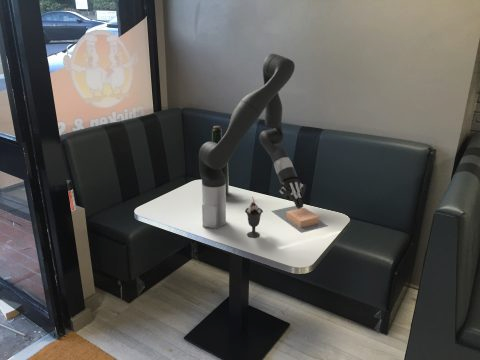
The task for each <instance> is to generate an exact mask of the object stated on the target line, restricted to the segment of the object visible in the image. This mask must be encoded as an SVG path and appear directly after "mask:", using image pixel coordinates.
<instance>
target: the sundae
mask: <svg viewBox="0 0 480 360" xmlns="http://www.w3.org/2000/svg"><path fill="white" fill-rule="evenodd" d="M251 199H253V200H252V202H251V204H250V205H249V207H246V209H245V210H244V212H245V213H246V215H247V221H248V225H249V226H250V227H251V231H249V232H248V233H247V234H246V236H247V237H248V238H251V239H256V238H259V237H260V236H261V233H260V232H258V231H256V227H258V226H259V224H260V221H261V215H262V213H264V210H263V209H262V208H261V207H259V206H258V205H257V204H256V202H255V199H254V196H252V197H251Z"/></svg>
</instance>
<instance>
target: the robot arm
mask: <svg viewBox="0 0 480 360" xmlns="http://www.w3.org/2000/svg"><path fill="white" fill-rule="evenodd" d="M295 68H296V65H295V62H294V61H293V60H292V59H290V58H288V57H285V56H282V55H280V54H276V53H270V54H268V55H267V56H266V57H265V58H264V61H263V64H262V76H263V86H261V87H259V88H258V89H255V90H254V91H252V92H250V93H248V94H247V95H245V96H244V97H243V98H242V99H241V100H240V101H239V103H238V104H237V105H236V107H235V108H234V109H233V111H232V113H231V117H230V120H229V124H228V127H227V129H226V132H225V134H224V135H223V136H222V139H221V140H220V141H219V142H218V144H217V143H215V142H212V141H206V142H205V143H203V144H202V145H201V147H200V148H199V153H198V169H199V175H200V178H201V189H202V190H201V191H202V192H201V193H202V202H201V203H202V205H201V210H202V211H201V212H202V213H201V218H202V220H201V221H202V227H205V228H210V229H214V230H217V229H218V228H222V227H224V226H225V225H226V224H227V213H226V212H227V210H226V209H227V208H226V207H227V206H226V205H227V203H226V202H227V200H226V199H227V196H226V178H225V175H224V174H223V172H222V169H221V168H223V167H224V166H225V165H226V164H227V163H228V164H229V161H231V158H232V156H234V153H235V152H236V151H237V150H236V149H238V146H239V145H240V143H241V142H242V140H244V138H245V136H246V135H247V134H248V132H249V131H250V129H251V128H252V127H253V125H255V123H256V121H257V120H258V119H259V117H260V116H261V114H262V113H263V112H264V110H265V113H264V124H265V126H266V127H268V128H271V129H267V130H262V131H260V134H259V137H258V138H259V142H260V144H261V145H262V147H263V148H264V149H265V151H266V152H267V154H268V155H269V156H270V159H271V161H272V163H273V166H274V169H275V173H276V175H277V178H278V179H279V183H280V184H281V189H279V191H278V193H279V194H280V195H282V196H283V197H284V198H285V199H287V200H288V201H293V203H294V206H296V207H297V208H298V209H300V208H304V203H303V200H302V198H303V197H304V196H305V192H306V188H307V184H306V183H304V184H303V183H301V181H300V180H299V179H298V174H297V172H296V169H295V167H294V165H293V163H292V161H291V159H290V157H289V154H288V152H287V150H286V148H285V147H284V146H280V144H282V143H283V141H284V140H285V135H284V130H283V124H282V118H283V104H282V100H281V98H280V95H279V92H280V91H281V90H282V88H284V86H285V85H286V84H287V83H288V82H289V81H290V79H291V78H292V76H293V75H294V72H295ZM278 145H279V146H278Z"/></svg>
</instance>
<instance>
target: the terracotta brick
mask: <svg viewBox="0 0 480 360" xmlns="http://www.w3.org/2000/svg"><path fill="white" fill-rule="evenodd" d="M286 218H287V219H288V220H290V221H291V222H293V223H294V224H296V225H297V226H298V227H300V228H301V227H305V226H309V225H313V224H317V223H319V220H320V216H319V215H318V214H315V213H314V212H312V211H310V210H309V209H307V208H305V207H302V208H300V209H296V210H291V211H287V212H286Z"/></svg>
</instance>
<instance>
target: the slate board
mask: <svg viewBox="0 0 480 360" xmlns="http://www.w3.org/2000/svg"><path fill="white" fill-rule="evenodd" d="M296 209H298V208H297V207H296V205H292V206H287V207H284V208H278V209H274V210H271V213H273V214H274V215H276V216H277V217H279V218H280V219H281V220H283V221H284V222H286V224H288V225H290V226H291V227H293V228H294V229H295V230H297V231H298V232H299V233H302V234H303V233H306V232H310V231H314V230H318V229H322V228H325V227H328V226H329V225H328V224H326V223H325V222H323V221H321V220H320V219H319V223H317V224H313V225H309V226H305V227H301V228H300V227H298V226H297V225H296V224H294V223H293V222H291V221H290V220H288V219H287V218H286V212H287V211H291V210H296Z"/></svg>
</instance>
